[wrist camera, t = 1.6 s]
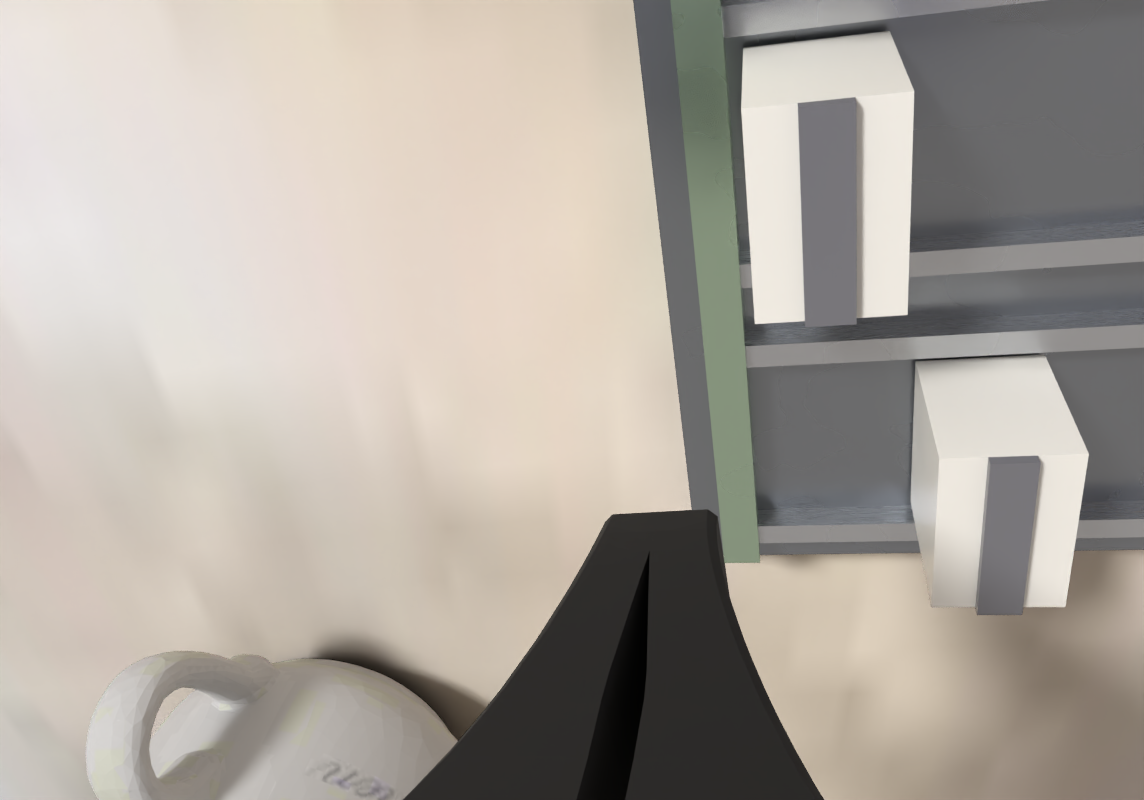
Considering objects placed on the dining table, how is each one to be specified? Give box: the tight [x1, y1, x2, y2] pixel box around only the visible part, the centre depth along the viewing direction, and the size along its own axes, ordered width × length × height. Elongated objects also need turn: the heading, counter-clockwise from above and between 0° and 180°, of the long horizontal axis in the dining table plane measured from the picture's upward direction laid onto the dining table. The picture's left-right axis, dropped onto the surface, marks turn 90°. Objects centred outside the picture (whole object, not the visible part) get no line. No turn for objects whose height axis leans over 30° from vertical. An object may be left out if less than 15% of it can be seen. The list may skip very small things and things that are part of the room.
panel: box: [633, 0, 1144, 563], centre depth 18 cm, size 14×20×2 cm
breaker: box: [741, 31, 914, 327], centre depth 17 cm, size 2×4×3 cm, turn 8°
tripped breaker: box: [910, 355, 1089, 615], centre depth 20 cm, size 2×4×3 cm, turn 8°
